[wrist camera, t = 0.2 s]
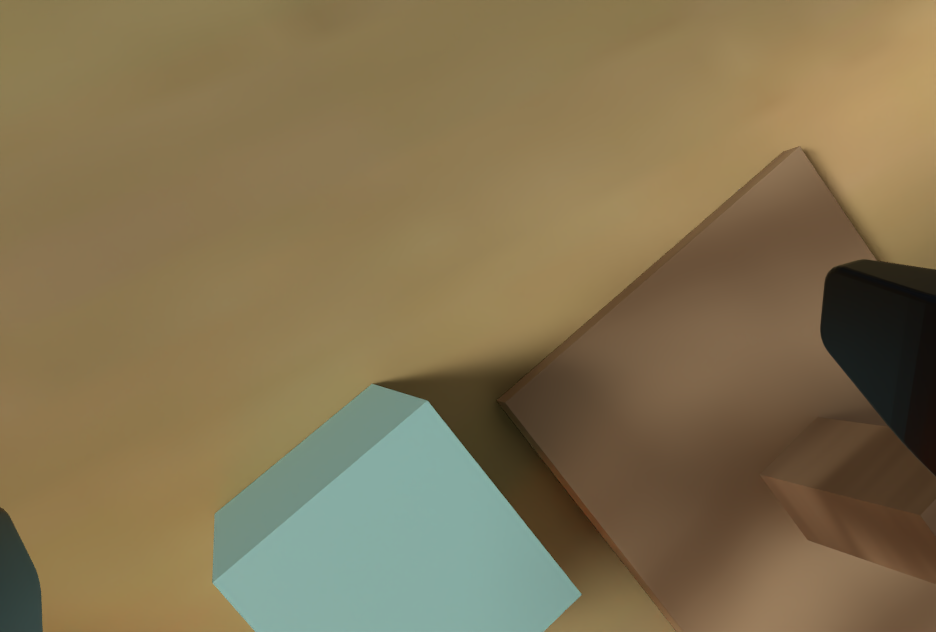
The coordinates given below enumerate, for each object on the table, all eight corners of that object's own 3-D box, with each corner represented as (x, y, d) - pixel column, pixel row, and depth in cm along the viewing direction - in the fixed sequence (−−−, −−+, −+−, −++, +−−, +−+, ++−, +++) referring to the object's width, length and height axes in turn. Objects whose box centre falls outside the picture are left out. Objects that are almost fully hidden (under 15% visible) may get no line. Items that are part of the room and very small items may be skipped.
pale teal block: (488, 527, 24) (581, 594, 18) (341, 660, 23) (387, 781, 17) (372, 383, 24) (427, 400, 17) (214, 513, 23) (212, 582, 16)
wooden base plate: (1044, 535, 30) (1284, 593, 23) (808, 801, 27) (1003, 954, 20) (783, 151, 27) (967, 90, 21) (496, 400, 25) (599, 424, 18)
